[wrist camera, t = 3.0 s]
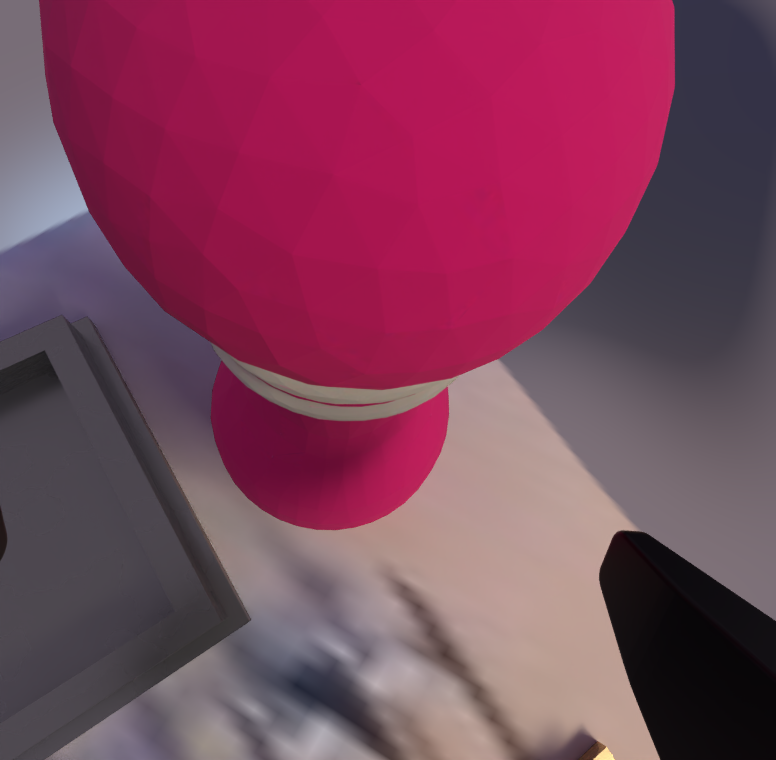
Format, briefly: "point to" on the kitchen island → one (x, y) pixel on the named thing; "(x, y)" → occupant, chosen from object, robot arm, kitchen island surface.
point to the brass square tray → (597, 753)
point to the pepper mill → (357, 202)
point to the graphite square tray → (91, 546)
